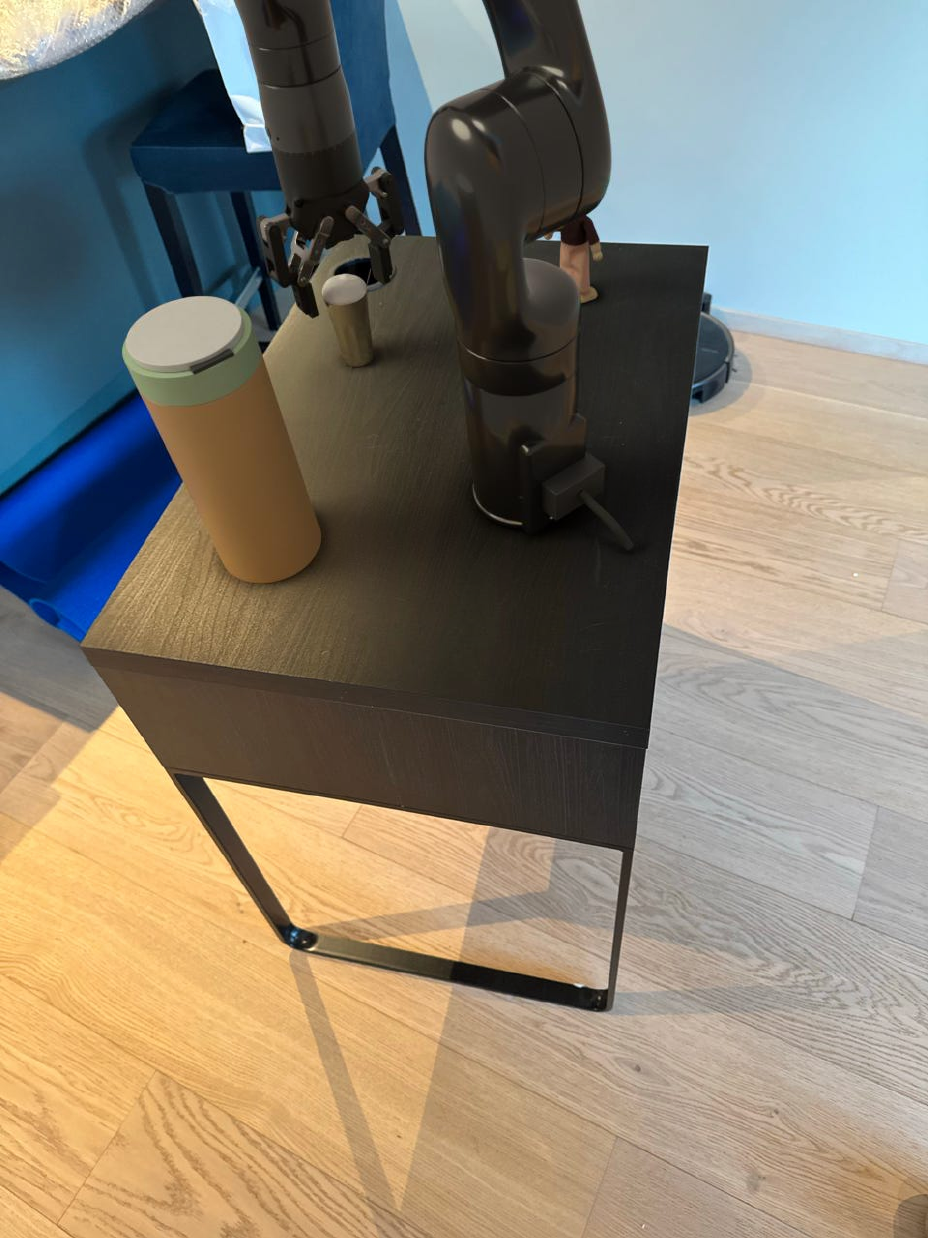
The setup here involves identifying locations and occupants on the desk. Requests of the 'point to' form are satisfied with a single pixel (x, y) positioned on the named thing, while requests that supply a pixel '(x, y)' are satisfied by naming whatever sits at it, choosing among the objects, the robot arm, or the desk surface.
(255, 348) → the lidded travel tumbler
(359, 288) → the milkshake
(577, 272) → the grandmother figurine
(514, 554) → the desk surface
